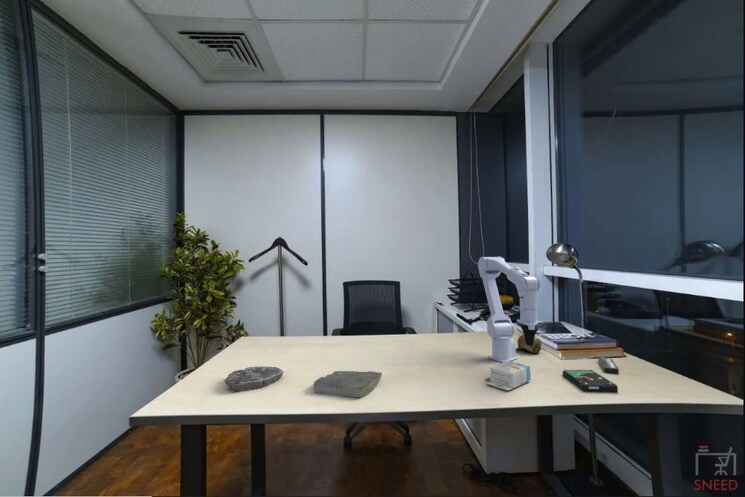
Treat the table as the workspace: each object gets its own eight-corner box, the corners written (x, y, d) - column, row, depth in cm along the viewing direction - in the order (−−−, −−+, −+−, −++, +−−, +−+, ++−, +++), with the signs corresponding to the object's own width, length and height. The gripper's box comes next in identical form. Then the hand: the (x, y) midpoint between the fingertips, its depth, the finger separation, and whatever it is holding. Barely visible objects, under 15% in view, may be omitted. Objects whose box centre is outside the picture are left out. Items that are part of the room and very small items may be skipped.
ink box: (530, 365, 113) (508, 375, 104) (530, 380, 113) (509, 391, 103) (507, 359, 120) (484, 369, 110) (507, 373, 119) (485, 383, 110)
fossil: (330, 378, 122) (309, 393, 105) (331, 365, 122) (309, 379, 106) (382, 385, 116) (367, 402, 100) (382, 372, 117) (368, 387, 100)
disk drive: (619, 394, 103) (591, 376, 117) (618, 385, 103) (591, 369, 118) (584, 393, 104) (561, 376, 118) (584, 384, 104) (561, 368, 118)
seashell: (545, 355, 143) (545, 336, 143) (524, 355, 143) (523, 336, 143) (533, 347, 154) (533, 331, 154) (514, 348, 154) (513, 331, 155)
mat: (503, 374, 120) (503, 373, 120) (528, 383, 111) (528, 381, 111) (484, 380, 115) (484, 378, 115) (509, 389, 106) (509, 388, 106)
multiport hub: (604, 373, 120) (604, 367, 120) (598, 362, 133) (597, 356, 133) (619, 375, 118) (618, 369, 118) (611, 363, 131) (611, 357, 131)
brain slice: (267, 370, 129) (266, 362, 129) (289, 381, 117) (289, 373, 117) (214, 384, 115) (215, 375, 115) (233, 398, 103) (233, 388, 103)
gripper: (514, 305, 129) (515, 339, 129) (518, 311, 115) (519, 349, 115) (534, 306, 127) (535, 341, 126) (540, 312, 113) (542, 351, 113)
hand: (529, 345), depth 120 cm, fingers closed
